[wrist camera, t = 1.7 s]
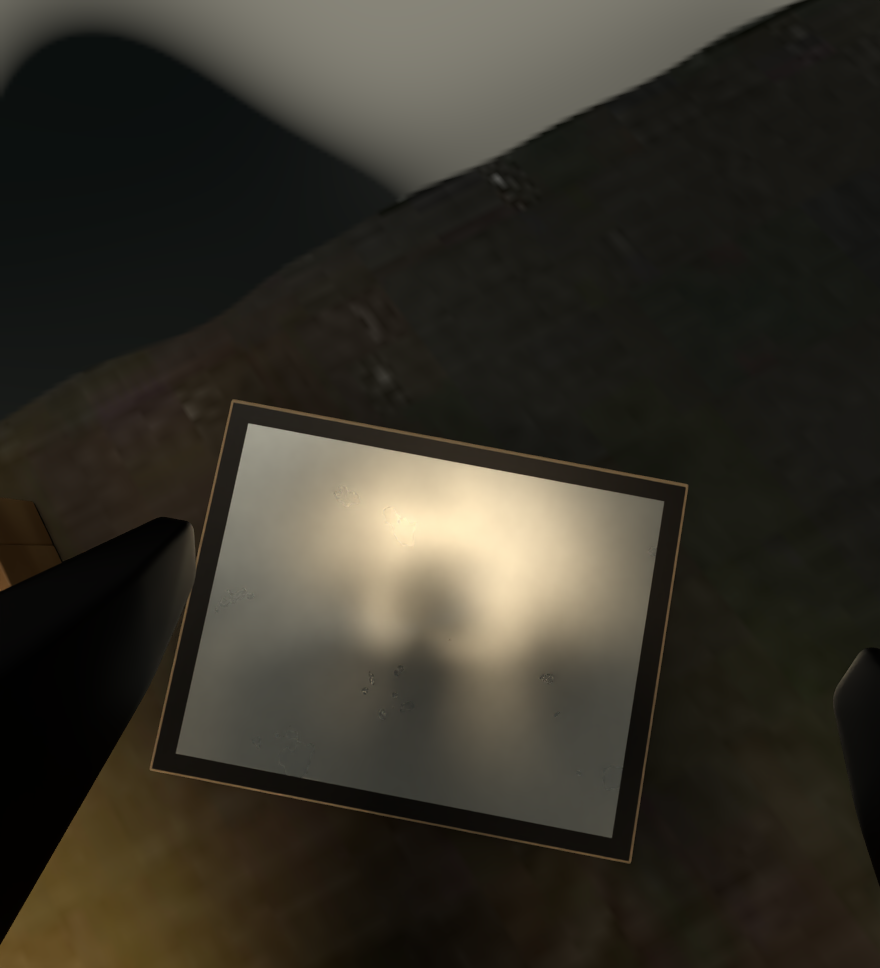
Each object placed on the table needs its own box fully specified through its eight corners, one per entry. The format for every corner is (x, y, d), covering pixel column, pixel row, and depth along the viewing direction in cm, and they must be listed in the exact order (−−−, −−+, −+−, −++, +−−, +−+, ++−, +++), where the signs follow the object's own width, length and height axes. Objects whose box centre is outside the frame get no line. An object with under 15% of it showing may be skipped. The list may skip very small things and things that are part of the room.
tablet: (624, 854, 24) (633, 868, 23) (157, 763, 24) (145, 773, 23) (681, 486, 25) (691, 483, 24) (237, 403, 25) (229, 396, 24)
